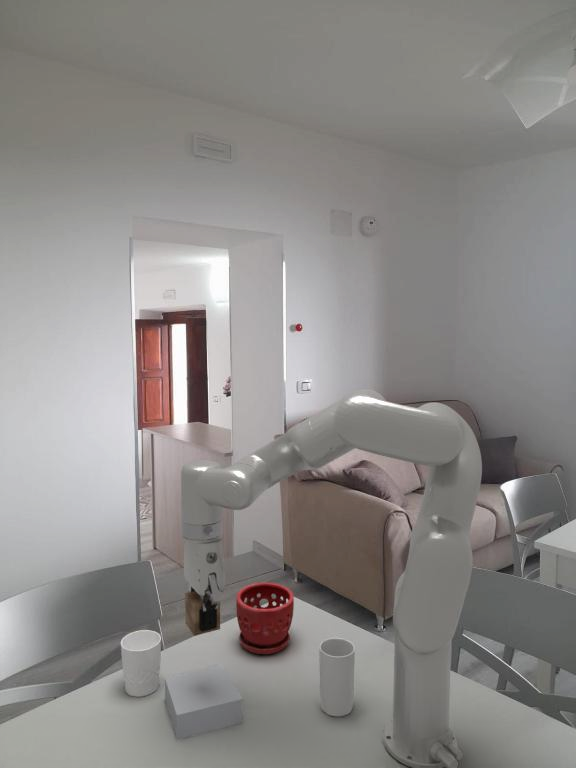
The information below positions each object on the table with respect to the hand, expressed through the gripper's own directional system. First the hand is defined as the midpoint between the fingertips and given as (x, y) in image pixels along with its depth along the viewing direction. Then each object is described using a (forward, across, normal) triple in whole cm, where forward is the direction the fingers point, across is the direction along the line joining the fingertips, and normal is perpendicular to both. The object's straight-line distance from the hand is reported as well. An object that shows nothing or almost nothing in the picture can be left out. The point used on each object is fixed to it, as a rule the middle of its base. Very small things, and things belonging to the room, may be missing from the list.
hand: (202, 621), depth 110 cm
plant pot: (+18, +15, -21) cm, 31 cm away
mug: (+18, -10, -24) cm, 31 cm away
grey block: (+18, 0, 0) cm, 18 cm away
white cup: (+18, +13, +8) cm, 24 cm away
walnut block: (+1, 0, 0) cm, 1 cm away
